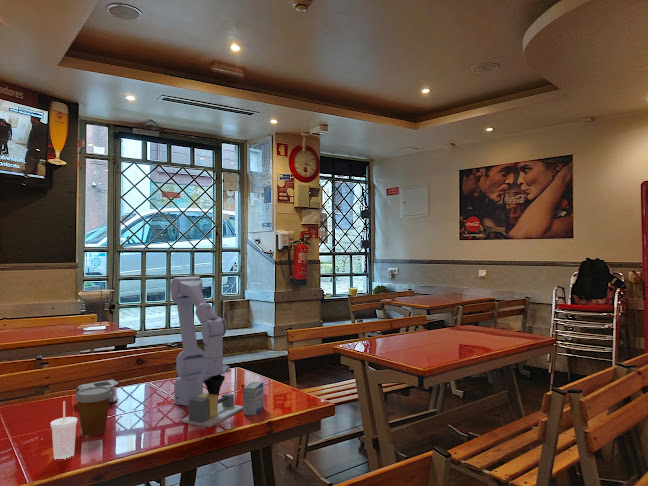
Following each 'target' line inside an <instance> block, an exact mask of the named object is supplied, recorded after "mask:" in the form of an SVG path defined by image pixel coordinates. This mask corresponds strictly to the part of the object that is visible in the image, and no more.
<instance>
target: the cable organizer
mask: <svg viewBox="0 0 648 486" xmlns="http://www.w3.org/2000/svg"><path fill="white" fill-rule="evenodd" d="M117 385H119V382H118V381H116V380H114V379H108V380H102V381H96V382H95V381H94V382H90V383H85V384H80V385H78V386H77V387H76V392H75V397H76V396H77V393H78V391H80V390H83V389H86V388H91V387H108V388H110V392H112V394H111V396H110V400H109V405H110V403H114V402H116V401H119V398H118V397H117V396H116V395H114V393H115V392H114V391H115V390H114V389H115V386H117Z"/></svg>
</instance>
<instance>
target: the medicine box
mask: <svg viewBox="0 0 648 486" xmlns="http://www.w3.org/2000/svg"><path fill="white" fill-rule="evenodd" d="M264 405H265V404H264V382H262V381H261V382H260V381H251V382H249V383H248V384H247V385H245V386H244V387H243V388H242V406H243V409H242V414H243V416H257V415H258V414H259V413H260V412H261V411H262V410H263V409H264V407H265V406H264Z"/></svg>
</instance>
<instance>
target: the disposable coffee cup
mask: <svg viewBox="0 0 648 486" xmlns="http://www.w3.org/2000/svg"><path fill="white" fill-rule="evenodd" d="M111 394H112V392H110V388H108V387H91V388H86V389H83V390H80V391H78V393H77V396H76V395H75V399H76V401H77V409H78V416H79V422H80V431H81V435H82V436H86V437H91V436H92V435H93V436H97V435H101V434H103V433H105V432H106V430H107V421H108V413H109V405H110V404H109V400H110V396H111Z"/></svg>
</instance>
